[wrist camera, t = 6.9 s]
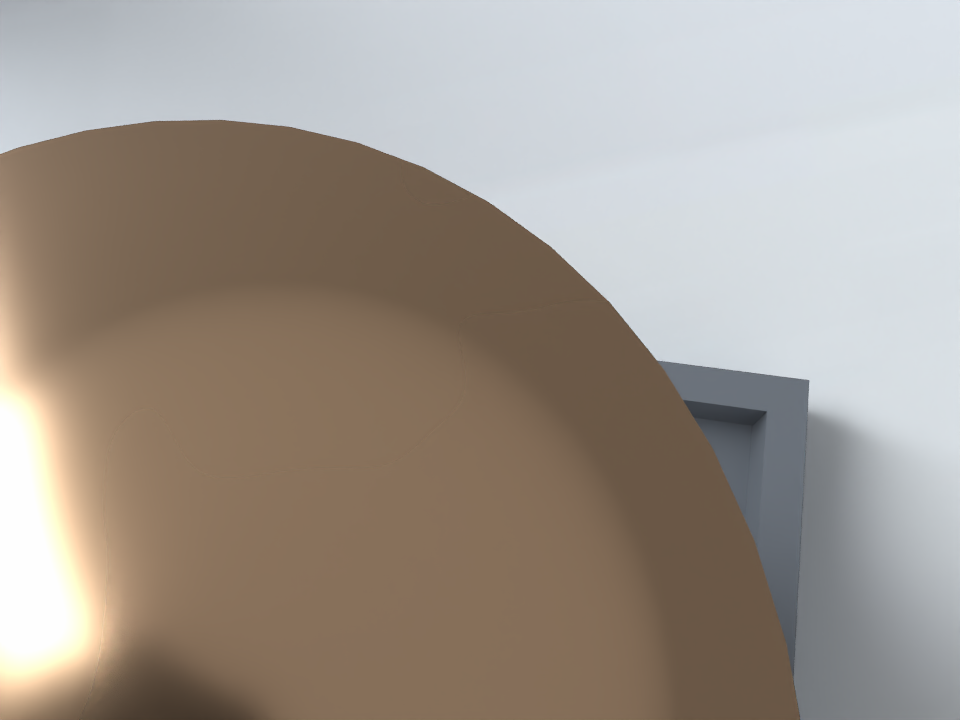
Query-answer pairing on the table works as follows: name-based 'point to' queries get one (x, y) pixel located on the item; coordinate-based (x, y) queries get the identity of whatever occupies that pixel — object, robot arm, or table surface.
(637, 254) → the table surface
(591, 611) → the can
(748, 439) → the tray
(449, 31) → the table surface
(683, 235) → the table surface
